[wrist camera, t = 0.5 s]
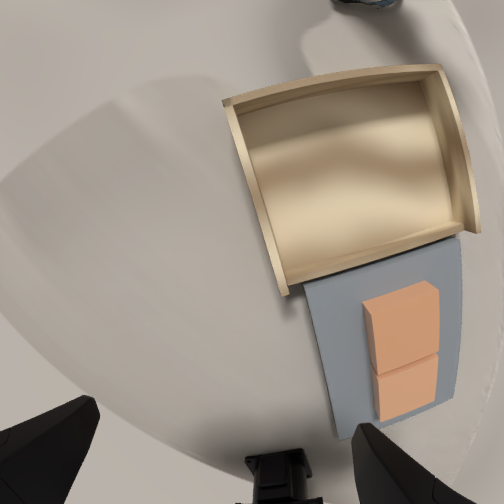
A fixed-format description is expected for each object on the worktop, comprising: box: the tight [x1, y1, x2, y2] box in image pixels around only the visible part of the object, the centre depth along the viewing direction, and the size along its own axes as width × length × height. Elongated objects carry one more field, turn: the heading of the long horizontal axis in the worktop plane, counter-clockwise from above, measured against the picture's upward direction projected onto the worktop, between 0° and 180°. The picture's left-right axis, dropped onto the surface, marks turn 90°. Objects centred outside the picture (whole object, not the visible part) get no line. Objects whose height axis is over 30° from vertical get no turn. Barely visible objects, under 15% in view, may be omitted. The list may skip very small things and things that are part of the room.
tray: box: [222, 64, 481, 297], centre depth 17 cm, size 12×15×4 cm
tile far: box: [371, 353, 439, 422], centre depth 19 cm, size 5×5×2 cm
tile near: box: [362, 280, 440, 375], centre depth 18 cm, size 5×5×2 cm
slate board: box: [302, 236, 462, 441], centre depth 21 cm, size 16×12×2 cm
